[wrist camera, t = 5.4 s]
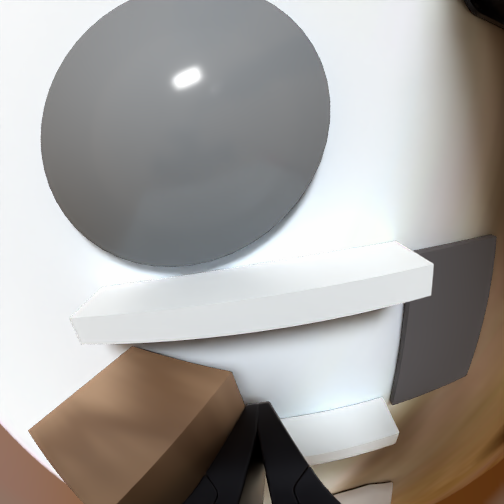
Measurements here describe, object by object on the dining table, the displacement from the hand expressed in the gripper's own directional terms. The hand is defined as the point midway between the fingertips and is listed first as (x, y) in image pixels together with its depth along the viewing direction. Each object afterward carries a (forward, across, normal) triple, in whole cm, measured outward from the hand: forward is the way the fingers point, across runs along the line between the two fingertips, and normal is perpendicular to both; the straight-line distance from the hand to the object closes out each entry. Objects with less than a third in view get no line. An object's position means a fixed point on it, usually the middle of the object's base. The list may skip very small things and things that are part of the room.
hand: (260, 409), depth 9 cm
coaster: (+2, +1, -10) cm, 10 cm away
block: (+1, +3, 0) cm, 3 cm away
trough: (+2, 0, 0) cm, 2 cm away
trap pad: (+2, -9, 0) cm, 9 cm away
